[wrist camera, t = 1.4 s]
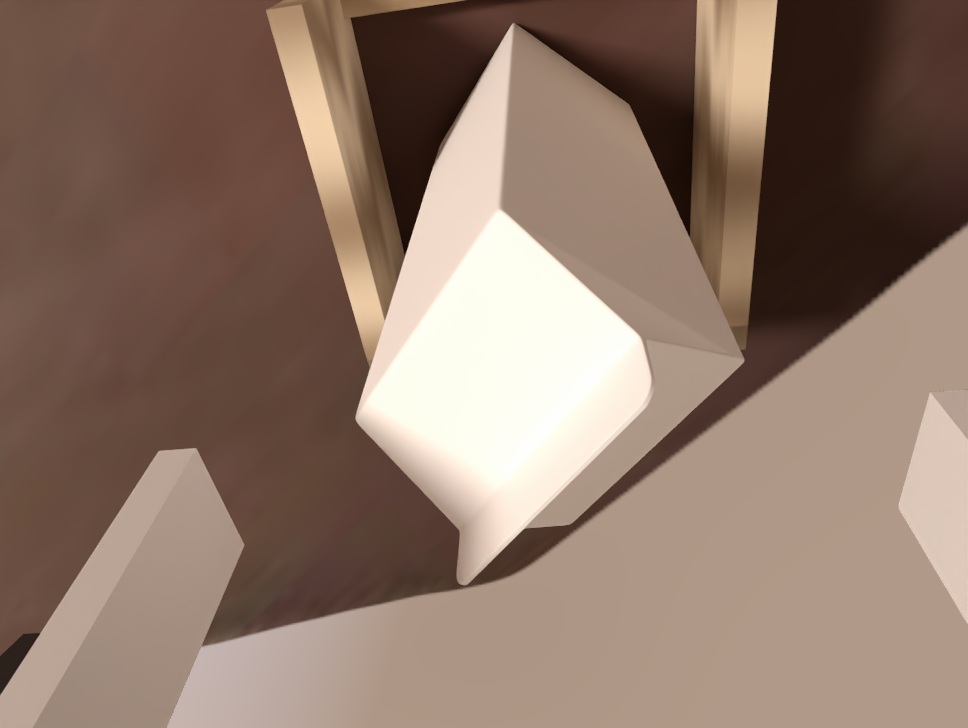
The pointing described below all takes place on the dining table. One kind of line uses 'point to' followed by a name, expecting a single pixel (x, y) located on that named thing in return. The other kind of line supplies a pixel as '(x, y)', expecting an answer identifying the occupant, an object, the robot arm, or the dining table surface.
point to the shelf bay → (364, 186)
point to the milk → (540, 309)
